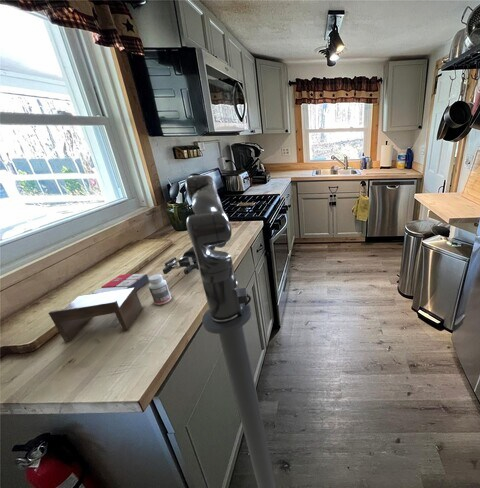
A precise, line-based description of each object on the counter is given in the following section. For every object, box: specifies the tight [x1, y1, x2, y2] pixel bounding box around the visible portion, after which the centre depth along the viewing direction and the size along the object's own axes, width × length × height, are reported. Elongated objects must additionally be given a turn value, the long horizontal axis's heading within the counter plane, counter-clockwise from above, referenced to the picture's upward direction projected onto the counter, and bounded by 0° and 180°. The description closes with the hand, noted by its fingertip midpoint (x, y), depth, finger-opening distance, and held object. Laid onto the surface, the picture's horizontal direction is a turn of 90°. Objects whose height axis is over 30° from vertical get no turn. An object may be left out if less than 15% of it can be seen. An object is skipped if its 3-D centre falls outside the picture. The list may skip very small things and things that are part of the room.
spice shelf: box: [48, 288, 143, 343], centre depth 80 cm, size 16×12×10 cm
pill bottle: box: [148, 273, 172, 306], centre depth 90 cm, size 5×5×10 cm
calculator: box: [91, 273, 149, 294], centre depth 98 cm, size 11×4×15 cm
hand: (174, 272), depth 98 cm, fingers open, 8 cm apart
